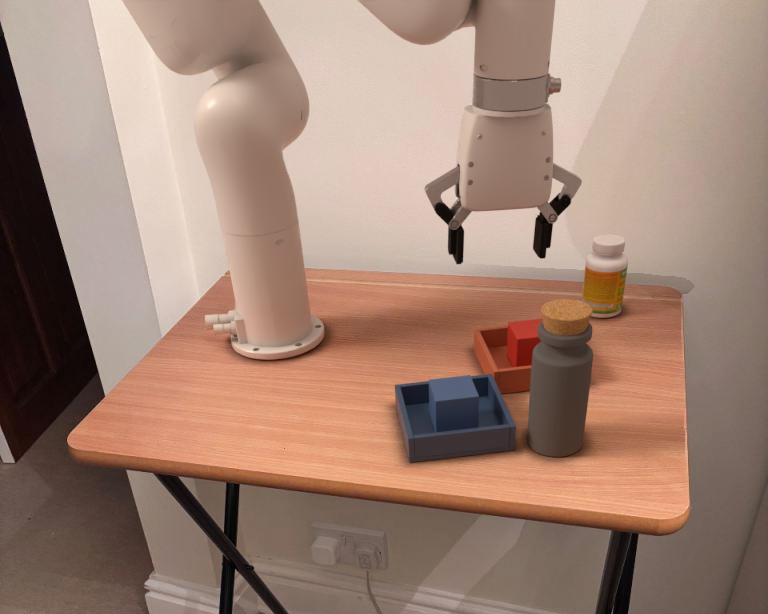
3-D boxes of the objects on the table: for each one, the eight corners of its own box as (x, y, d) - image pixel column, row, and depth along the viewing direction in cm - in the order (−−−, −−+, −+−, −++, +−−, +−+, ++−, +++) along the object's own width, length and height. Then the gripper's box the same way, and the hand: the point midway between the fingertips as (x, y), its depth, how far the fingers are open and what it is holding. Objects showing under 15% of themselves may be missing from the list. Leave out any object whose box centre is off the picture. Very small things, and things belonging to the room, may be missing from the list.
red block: (515, 374, 93) (517, 339, 90) (506, 356, 96) (507, 322, 93) (553, 370, 93) (556, 334, 90) (542, 352, 97) (545, 317, 94)
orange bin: (493, 394, 90) (493, 371, 88) (473, 350, 99) (474, 328, 97) (587, 384, 91) (590, 361, 89) (559, 341, 100) (561, 319, 98)
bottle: (583, 459, 79) (600, 323, 70) (525, 456, 80) (534, 321, 71) (582, 427, 84) (598, 296, 74) (527, 425, 85) (536, 295, 75)
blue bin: (409, 462, 81) (408, 438, 79) (395, 407, 90) (394, 384, 88) (514, 450, 81) (516, 426, 80) (491, 396, 90) (492, 373, 88)
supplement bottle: (621, 319, 103) (632, 247, 97) (580, 318, 104) (587, 246, 98) (620, 302, 107) (630, 232, 101) (580, 301, 108) (587, 231, 102)
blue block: (436, 438, 83) (435, 401, 80) (429, 415, 87) (428, 379, 84) (478, 433, 83) (479, 396, 81) (470, 411, 87) (470, 374, 84)
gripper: (581, 81, 83) (561, 240, 94) (420, 90, 82) (420, 250, 93) (603, 96, 77) (580, 264, 88) (431, 106, 76) (429, 275, 87)
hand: (498, 257), depth 90 cm, fingers open, 9 cm apart
